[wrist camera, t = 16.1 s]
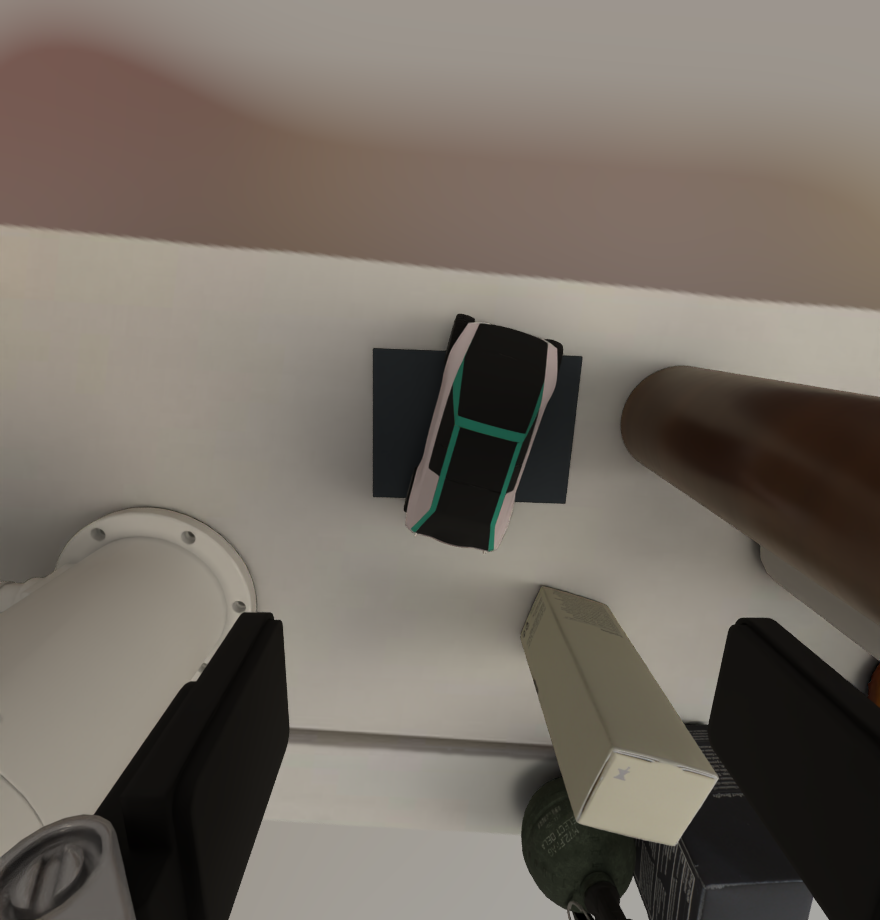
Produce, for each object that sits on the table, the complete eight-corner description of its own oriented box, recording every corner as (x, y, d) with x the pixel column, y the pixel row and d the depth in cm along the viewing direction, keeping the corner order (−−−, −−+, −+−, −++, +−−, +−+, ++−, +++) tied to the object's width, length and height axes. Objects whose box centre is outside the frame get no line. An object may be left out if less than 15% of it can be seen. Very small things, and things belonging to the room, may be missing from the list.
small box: (698, 831, 37) (794, 1019, 27) (614, 834, 37) (679, 1023, 27) (713, 721, 34) (827, 886, 24) (623, 725, 34) (699, 890, 24)
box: (517, 635, 33) (565, 825, 20) (541, 581, 32) (608, 747, 19) (587, 656, 33) (677, 854, 21) (614, 604, 32) (726, 780, 20)
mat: (373, 495, 30) (372, 497, 30) (373, 348, 27) (373, 348, 27) (564, 502, 30) (565, 503, 30) (581, 356, 28) (582, 356, 27)
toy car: (403, 506, 30) (395, 544, 25) (456, 312, 27) (460, 309, 21) (493, 530, 30) (504, 572, 25) (556, 342, 27) (583, 345, 22)
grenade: (513, 757, 36) (557, 885, 26) (613, 754, 36) (693, 877, 26) (509, 860, 36) (550, 1024, 26) (607, 855, 37) (684, 1013, 27)
